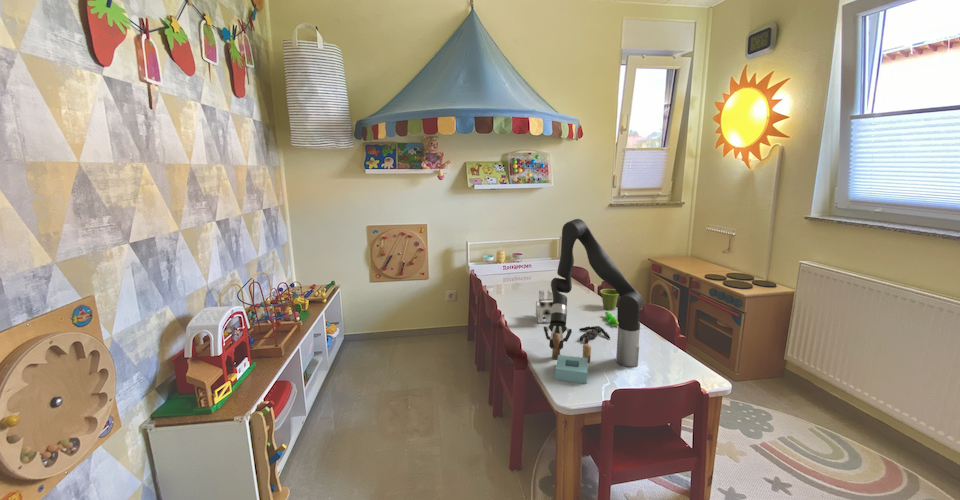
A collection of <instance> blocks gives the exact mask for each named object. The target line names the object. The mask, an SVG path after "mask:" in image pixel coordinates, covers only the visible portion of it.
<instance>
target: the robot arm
mask: <svg viewBox="0 0 960 500" xmlns="http://www.w3.org/2000/svg"><path fill="white" fill-rule="evenodd" d="M591 231H592V230H591V229H590V228H589V226H588V225H587V223H586V222H585V221H584V220H582V219H581V218H575V219H572V220H569V221H567V222H566V223H564V224H563V226H562V229H561V246H560V247H561V248H560V258H559V262H558V267H557V271H556V273H557V275H558V277H554V278H552V280H551V282H550V287H551V291H552V293H553V305H552V310H551V321H550V324H549V325H548V326H546V325H545V326H543V331H544V335H545V338H546V340H548V341H549V345H548V346H549V348H550V349H551V350H552V347H553V333H559V334H560V335H561V337H560V351H562V349H564V342H568V340H569V338H570V336H571V334H572V330H573V329H571V328H568V327H567V317H568V308H567V307H568V297H567V296H566V295H564V294H568V293H570V292H571V291H572V289H573V287H572V286H573V285H572V284H573V283H572V272H573V269H574V262H575V258H574V245H575V243H576V241H577V240H578V241H579V242H580V243H581V244H582V246H583V248H584V249H585V251H586V255H587V259H588V263H589V265H590V267H591V269H592V270H593V271H594V272H595V274H596V275H597V276H598V277H599V278H600V279H601V280H602V281H604V282H606V283H607V284H608V285H609V286H611V287H612V289H614V290H616V291H617V293H618V294H619V296H618V297H620V298H619V300H618V301H617V318H616V320H618V326H617V339H616V356H615V357H616V358H615V360H616V363H617V364H618V365H621V366H623V367H630V368H632V367H638V366H639V355H640V354H639V353H640V345H639V344H640V343H639V342H640V333H641V332H640V329H641V322H640V320H639V317H640V316H639V314H640V311H641V310H642V308H643V307H644V298H643V297H642V295H641V294H640V293H639V292H638V290H637V289H635V287H633V285H632V284H631V283H630V282H629V281H628V280H627V279H626V278H625V275H623V273H622V272H621V270H620V269H619V268H618V267H617V265H616V264H615V262H614V261H613V260H612V258H611V257H610V256H609V255H608V253H607V252H606V251H605V250H604V248H603V247H602V245H601V244H600V243H599V242H598V241H597V239H596V238H595V236H594V234H593V232H591ZM549 331H550V332H551V333H550V336H549V333H548V332H549ZM565 332H566V335H565V337H564V335H563V334H564V333H565Z"/></svg>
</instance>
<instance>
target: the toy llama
mask: <svg viewBox="0 0 960 500" xmlns="http://www.w3.org/2000/svg"><path fill="white" fill-rule="evenodd" d="M552 305H553V293H552V290H547V298H545V291H544V290H538V301H536V302H535V318H536V320H537V323H538V324H540V325H542V324H543V323H544V319H545V322H546V324H549V325H550V321H551V310H552ZM543 318H544V319H543Z"/></svg>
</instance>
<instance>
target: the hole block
mask: <svg viewBox="0 0 960 500" xmlns="http://www.w3.org/2000/svg"><path fill="white" fill-rule="evenodd" d="M588 364H589V363H588V358H582V357H580V356H572V355H562V354H560V355H558V359H557V360H556V365H555V366H556V367H555V380H557V381H564V382H571V383H578V384H587V383H588Z"/></svg>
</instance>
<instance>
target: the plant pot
mask: <svg viewBox="0 0 960 500" xmlns="http://www.w3.org/2000/svg"><path fill="white" fill-rule="evenodd" d="M599 292H600V293H601V298H602V307H603V309H604V310H608V311H615V309H616V307H617V304H618V298H619V297H620V296H619V294H618V293H617V291H616V290H615V289H614V288H603V289H600V291H599Z"/></svg>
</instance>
